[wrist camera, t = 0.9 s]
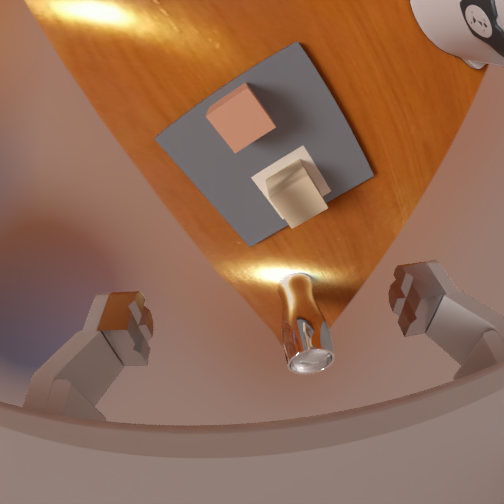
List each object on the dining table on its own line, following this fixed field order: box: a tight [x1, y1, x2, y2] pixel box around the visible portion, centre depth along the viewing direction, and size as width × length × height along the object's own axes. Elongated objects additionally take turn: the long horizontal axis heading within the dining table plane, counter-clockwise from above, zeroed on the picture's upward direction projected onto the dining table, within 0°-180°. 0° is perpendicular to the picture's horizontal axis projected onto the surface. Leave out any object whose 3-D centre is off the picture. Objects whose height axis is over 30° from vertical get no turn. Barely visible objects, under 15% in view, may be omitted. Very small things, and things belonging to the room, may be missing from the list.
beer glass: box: [277, 273, 335, 374], centre depth 46 cm, size 7×7×15 cm
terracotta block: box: [206, 82, 276, 153], centre depth 31 cm, size 5×5×5 cm
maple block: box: [266, 159, 328, 229], centre depth 37 cm, size 5×5×5 cm
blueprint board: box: [155, 41, 374, 247], centre depth 37 cm, size 20×20×1 cm
